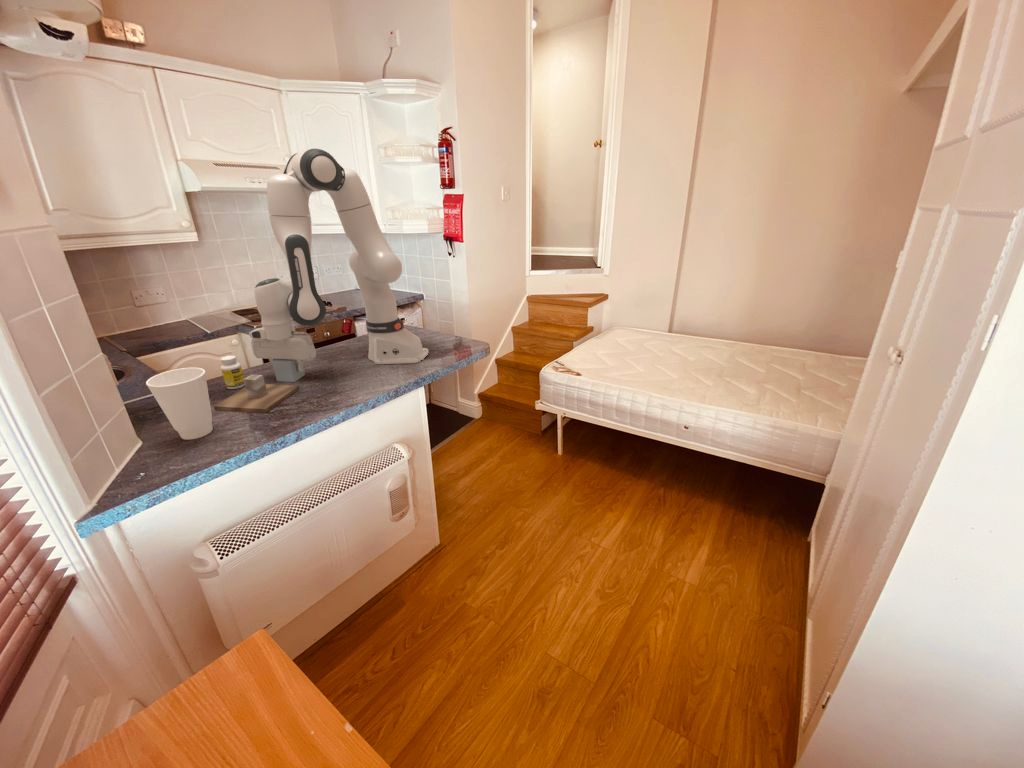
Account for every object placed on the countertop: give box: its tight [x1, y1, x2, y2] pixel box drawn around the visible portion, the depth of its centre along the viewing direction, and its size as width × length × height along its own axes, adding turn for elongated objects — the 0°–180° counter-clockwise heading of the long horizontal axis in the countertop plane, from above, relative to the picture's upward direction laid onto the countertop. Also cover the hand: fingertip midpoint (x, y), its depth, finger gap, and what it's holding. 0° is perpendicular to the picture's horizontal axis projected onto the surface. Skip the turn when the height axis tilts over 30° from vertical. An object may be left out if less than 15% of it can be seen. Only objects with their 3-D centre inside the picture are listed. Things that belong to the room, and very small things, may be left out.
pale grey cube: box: [271, 359, 306, 383], centre depth 141 cm, size 6×6×7 cm
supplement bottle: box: [220, 355, 246, 390], centre depth 135 cm, size 5×5×10 cm
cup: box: [145, 366, 214, 441], centre depth 107 cm, size 12×12×16 cm
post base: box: [213, 374, 300, 414], centre depth 126 cm, size 16×16×7 cm
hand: (289, 370), depth 141 cm, fingers closed on pale grey cube, 6 cm apart
